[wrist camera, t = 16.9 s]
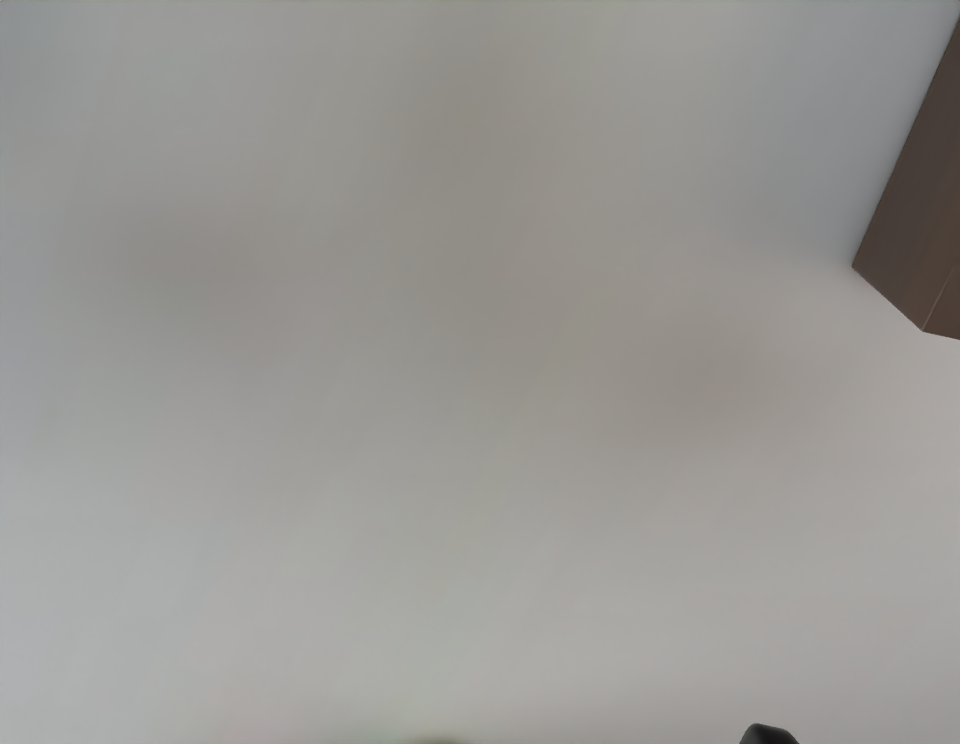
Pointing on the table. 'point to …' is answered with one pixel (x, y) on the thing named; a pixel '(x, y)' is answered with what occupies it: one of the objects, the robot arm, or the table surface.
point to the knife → (923, 213)
